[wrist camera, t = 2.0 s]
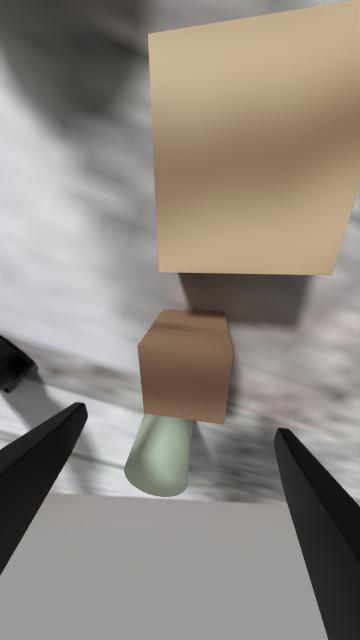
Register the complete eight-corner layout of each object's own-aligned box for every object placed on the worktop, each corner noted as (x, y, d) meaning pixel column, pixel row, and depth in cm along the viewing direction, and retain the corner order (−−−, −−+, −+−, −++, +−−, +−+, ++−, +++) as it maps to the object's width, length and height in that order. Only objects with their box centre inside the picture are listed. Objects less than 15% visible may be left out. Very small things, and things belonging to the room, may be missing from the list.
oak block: (288, 264, 13) (331, 275, 8) (175, 262, 14) (158, 272, 9) (321, 107, 10) (419, -11, 5) (173, 121, 11) (148, 34, 6)
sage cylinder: (170, 435, 21) (157, 502, 16) (138, 408, 20) (112, 470, 15) (203, 417, 19) (200, 485, 14) (169, 386, 18) (152, 447, 13)
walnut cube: (219, 364, 17) (224, 424, 11) (165, 359, 17) (144, 413, 12) (224, 312, 15) (233, 353, 9) (163, 309, 15) (137, 345, 10)
